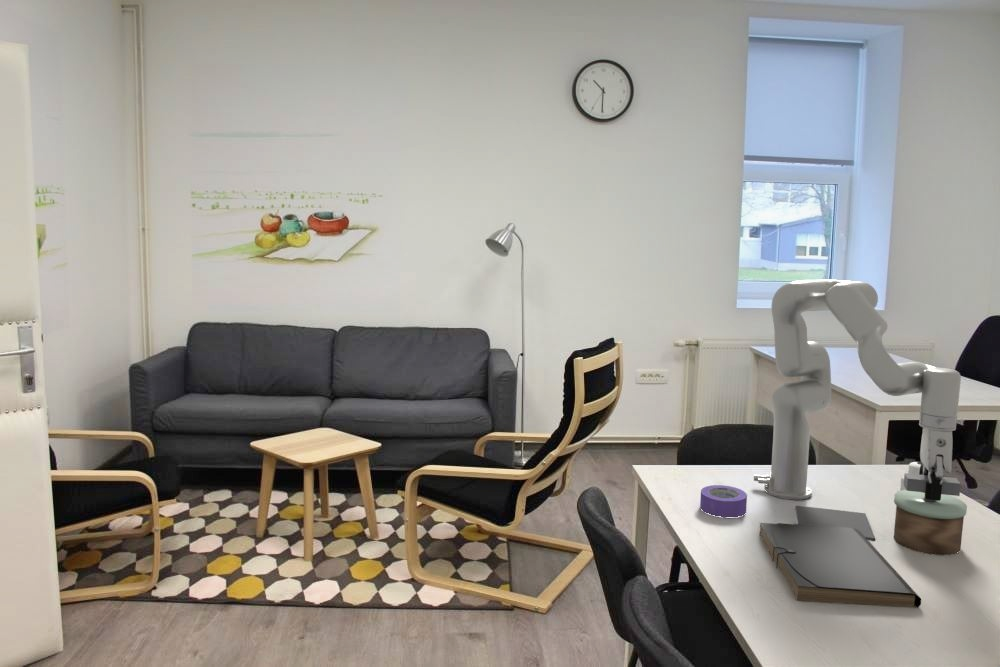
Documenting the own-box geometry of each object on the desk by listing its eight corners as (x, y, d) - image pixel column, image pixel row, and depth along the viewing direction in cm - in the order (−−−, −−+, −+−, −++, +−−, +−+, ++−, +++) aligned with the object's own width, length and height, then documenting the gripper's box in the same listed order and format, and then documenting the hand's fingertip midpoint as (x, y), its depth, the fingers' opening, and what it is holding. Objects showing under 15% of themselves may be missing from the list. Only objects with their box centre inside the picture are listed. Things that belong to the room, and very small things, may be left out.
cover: (974, 522, 173) (977, 492, 172) (900, 514, 178) (902, 485, 177) (957, 499, 187) (959, 471, 186) (889, 492, 192) (891, 465, 191)
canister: (899, 550, 179) (902, 517, 178) (889, 528, 192) (891, 497, 191) (967, 558, 175) (971, 525, 174) (952, 535, 188) (955, 504, 187)
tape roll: (729, 522, 195) (730, 503, 195) (691, 509, 204) (691, 491, 203) (754, 511, 203) (755, 493, 202) (716, 499, 212) (717, 481, 211)
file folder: (758, 520, 187) (861, 527, 184) (757, 537, 187) (860, 543, 185) (796, 584, 154) (922, 592, 152) (794, 603, 155) (920, 612, 152)
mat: (799, 531, 190) (799, 529, 190) (795, 507, 206) (795, 505, 206) (875, 540, 185) (875, 538, 185) (865, 515, 201) (865, 513, 201)
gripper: (965, 431, 170) (957, 510, 173) (947, 413, 186) (939, 486, 189) (927, 428, 173) (920, 506, 175) (912, 411, 188) (906, 483, 191)
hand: (930, 495), depth 182 cm, fingers closed on cover, 4 cm apart
